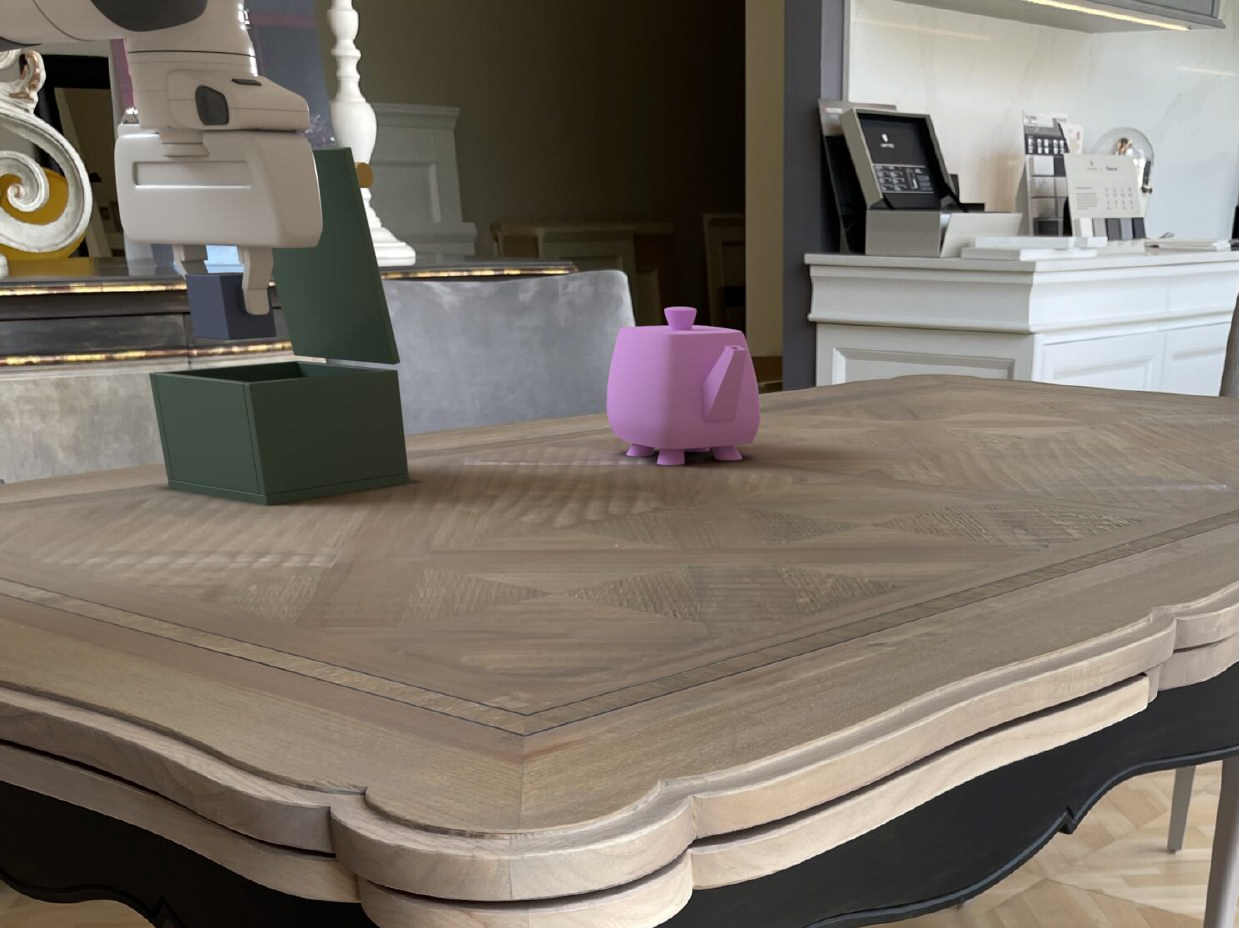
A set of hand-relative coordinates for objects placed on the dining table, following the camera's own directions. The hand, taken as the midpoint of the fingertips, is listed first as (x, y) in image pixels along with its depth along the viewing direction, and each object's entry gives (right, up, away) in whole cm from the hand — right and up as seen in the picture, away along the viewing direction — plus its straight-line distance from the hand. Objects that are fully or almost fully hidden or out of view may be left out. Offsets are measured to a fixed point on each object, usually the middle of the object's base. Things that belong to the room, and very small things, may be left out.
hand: (231, 313), depth 121 cm
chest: (+2, -10, +9) cm, 14 cm away
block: (0, -1, +1) cm, 2 cm away
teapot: (+33, -2, +26) cm, 42 cm away
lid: (+5, +7, +5) cm, 10 cm away
